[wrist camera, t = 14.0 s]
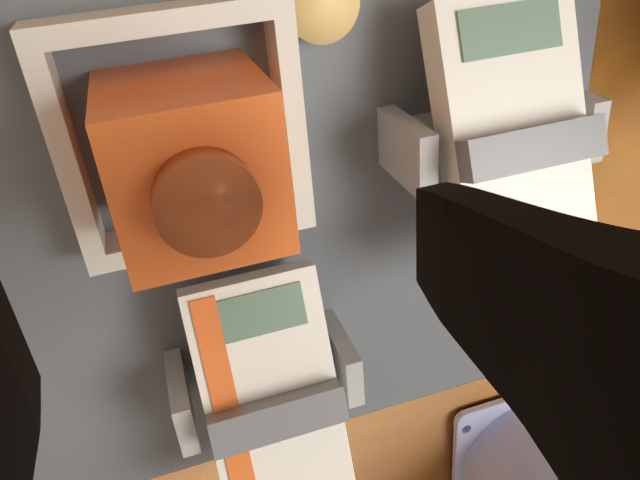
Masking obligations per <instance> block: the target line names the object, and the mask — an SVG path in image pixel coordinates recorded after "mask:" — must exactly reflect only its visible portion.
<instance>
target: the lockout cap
mask: <svg viewBox="0 0 640 480" xmlns="http://www.w3.org/2000/svg"><path fill="white" fill-rule="evenodd" d="M85 128H86V131H87V134H88V138H89V141H90V145H91V148H92V152H93V155H94V159H95V162H96V166H97V169H98V172H99V176H100V179H101V183H102V186H103V190H104V193H105V197H106V200H107V203H108V207H109V210H110V214H111V217H112V221H113V224H114V228H115V231H116V235H117V238H118V241H119V245H120V248H121V252H122V255H123V259H124V262H125V266H126V269H127V273H128V276H129V279H130V283H131V286H132V290H133V292H137V291H141V290H146V289H150V288H154V287H158V286H163V285H167V284H171V283H176V282H180V281H184V280H189V279H193V278H197V277H201V276H206V275H210V274H214V273H219V272H223V271H227V270H231V269H236V268H240V267H244V266H249V265H253V264H257V263H262V262H266V261H270V260H274V259H279V258H283V257H287V256H292V255H296V254H300V253H301V251H300V242H299V233H298V225H297V216H296V207H295V199H294V190H293V182H292V173H291V164H290V156H289V147H288V138H287V130H286V121H285V112H284V104H283V95H282V91H281V90H280V89H279V88H278V87H277V86H276V85H275V84H274V83H273V82H272V81H271V79H270V78H269V77H268V76H267V75H266V74H265V73H264V72H263V71H262V70H261V69H260V68H259V67H258V66H257V65H256V64H255V63H254V62H253V61H252V60H251V59H250V58H249V57H248V56H247V55H246V54H245V53H244V52H243V51H242V50H241V49H240V48H236V49H230V50H223V51H217V52H210V53H203V54H197V55H190V56H184V57H177V58H170V59H164V60H157V61H151V62H144V63H137V64H131V65H124V66H118V67H111V68H105V69H98V70H91V71H90V75H89V85H88V96H87V106H86V117H85Z"/></svg>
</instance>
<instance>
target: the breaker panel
mask: <svg viewBox="0 0 640 480" xmlns="http://www.w3.org/2000/svg"><path fill="white" fill-rule="evenodd" d="M430 1H432V0H0V280H1V283H2V285H3V287H4V290H5V292H6V294H7V297H8V299H9V302H10V304H11V306H12V309H13V311H14V314H15V316H16V318H17V321H18V323H19V326H20V328H21V330H22V333H23V335H24V337H25V340H26V342H27V345H28V347H29V349H30V352H31V354H32V357H33V359H34V361H35V364H36V366H37V369H38V371H39V373H40V376H41V429H40V437H39V444H38V451H37V457H36V464H35V470H34V476H33V480H148V479H151V478H155V477H158V476H161V475H165V474H168V473H171V472H175V471H178V470H181V469H184V468H188V467H191V466H194V465H198V464H201V463H204V462H208V461H211V460H214V455H213V451H212V446H211V442H210V438H209V434H208V429H207V425H206V419H205V413H204V409H203V405H202V401H201V396H200V392H199V388H198V384H197V379H196V375H195V371H194V367H193V362H192V358H191V354H190V350H189V345H188V341H187V337H186V333H185V328H184V324H183V320H182V315H181V311H180V307H179V303H178V298H177V291H176V289H179V288H183V287H187V286H192V285H196V284H200V283H204V282H209V281H213V280H217V279H221V278H226V277H230V276H234V275H238V274H243V273H247V272H251V271H255V270H260V269H264V268H268V267H272V266H277V265H281V264H285V263H289V262H294V261H298V260H302V259H308V260H309V261H311V262H312V263H314V264H315V266H316V271H317V276H318V282H319V287H320V292H321V298H322V303H323V308H324V314H325V319H326V324H327V330H328V335H329V340H330V346H331V351H332V356H333V362H334V367H335V372H336V377H337V379H338V380H339V381H340V383H341V384H342V385H343V387H344V392H345V398H346V403H347V408H348V414H349V419H351V418H354V417H357V416H361V415H364V414H367V413H370V412H374V411H377V410H380V409H384V408H387V407H390V406H394V405H397V404H400V403H404V402H407V401H410V400H414V399H417V398H420V397H424V396H427V395H430V394H434V393H437V392H440V391H444V390H447V389H450V388H454V387H457V386H460V385H464V384H467V383H470V382H473V381H477V380H480V379H483V378H485V376H484V375H483V374H482V373H481V371H480V370H479V369H478V368H477V367H476V365H475V364H474V363H473V362H472V360H471V359H470V358H469V357H468V356H467V354H466V353H465V352H464V351H463V349H462V348H461V347H460V346H459V344H458V343H457V342H456V341H455V339H454V338H453V337H452V336H451V335H450V333H449V332H448V331H447V329H446V328H445V327H444V326H443V324H442V323H441V322H440V320H439V319H438V317H437V315H436V314H435V312H434V311H433V309H432V307H431V306H430V304H429V302H428V301H427V299H426V297H425V295H424V293H423V292H422V290H421V288H420V286H419V285H418V283H417V281H416V188H421V187H425V186H430V185H434V184H439V183H442V180H441V174H440V167H439V134H437V133H436V132H434V126H433V120H432V113H431V106H430V99H429V93H428V86H427V79H426V72H425V66H424V59H423V52H422V45H421V39H420V32H419V25H418V18H417V12H416V10H417V9H418V8H420V7H422V6H423V5H425V4H427V3H428V2H430ZM574 1H575V11H576V21H577V30H578V40H579V50H580V59H581V69H582V79H583V89H584V98H585V108H586V115H588V114H598V113H605V119H606V129H607V128H608V121H609V115H610V109H611V103H612V100H610V99H607V98H604V97H602V96H599V95H596V94H594V93H591V92H588V89H589V82H590V75H591V68H592V61H593V54H594V47H595V40H596V32H597V25H598V18H599V11H600V4H601V0H574ZM236 48H240V49H241V50H242V51H243V52H244V53H245V54H246V55H247V56H248V57H249V58H250V59H251V60H252V61H253V62H254V63H255V64H256V65H257V66H258V67H259V68H260V69H261V70H262V71H263V72H264V73H265V74H266V75H267V76H268V77H269V78H270V79H271V81H272V82H273V83H274V84H275V85H276V86H277V87H278V88H279V89H280V90H281V91H282V95H283V104H284V112H285V121H286V130H287V138H288V147H289V156H290V164H291V173H292V182H293V190H294V199H295V207H296V216H297V225H298V233H299V242H300V251H301V253H300V254H296V255H292V256H287V257H283V258H279V259H274V260H270V261H266V262H262V263H257V264H253V265H249V266H244V267H240V268H236V269H231V270H227V271H223V272H219V273H214V274H210V275H206V276H201V277H197V278H193V279H189V280H184V281H180V282H176V283H171V284H167V285H163V286H158V287H154V288H150V289H146V290H141V291H137V292H133V290H132V286H131V283H130V279H129V276H128V273H127V269H126V266H125V262H124V259H123V255H122V252H121V248H120V245H119V241H118V238H117V235H116V231H115V228H114V224H113V221H112V217H111V214H110V210H109V207H108V203H107V200H106V197H105V193H104V190H103V186H102V183H101V179H100V176H99V172H98V169H97V166H96V162H95V159H94V155H93V152H92V148H91V145H90V141H89V138H88V134H87V131H86V128H85V117H86V106H87V96H88V85H89V75H90V71H91V70H98V69H105V68H111V67H118V66H124V65H131V64H137V63H144V62H151V61H157V60H164V59H170V58H177V57H184V56H190V55H197V54H203V53H210V52H217V51H223V50H230V49H236ZM602 158H603V156H598V157H593V158H591V164H592V163H596V162H601V161H602Z"/></svg>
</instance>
